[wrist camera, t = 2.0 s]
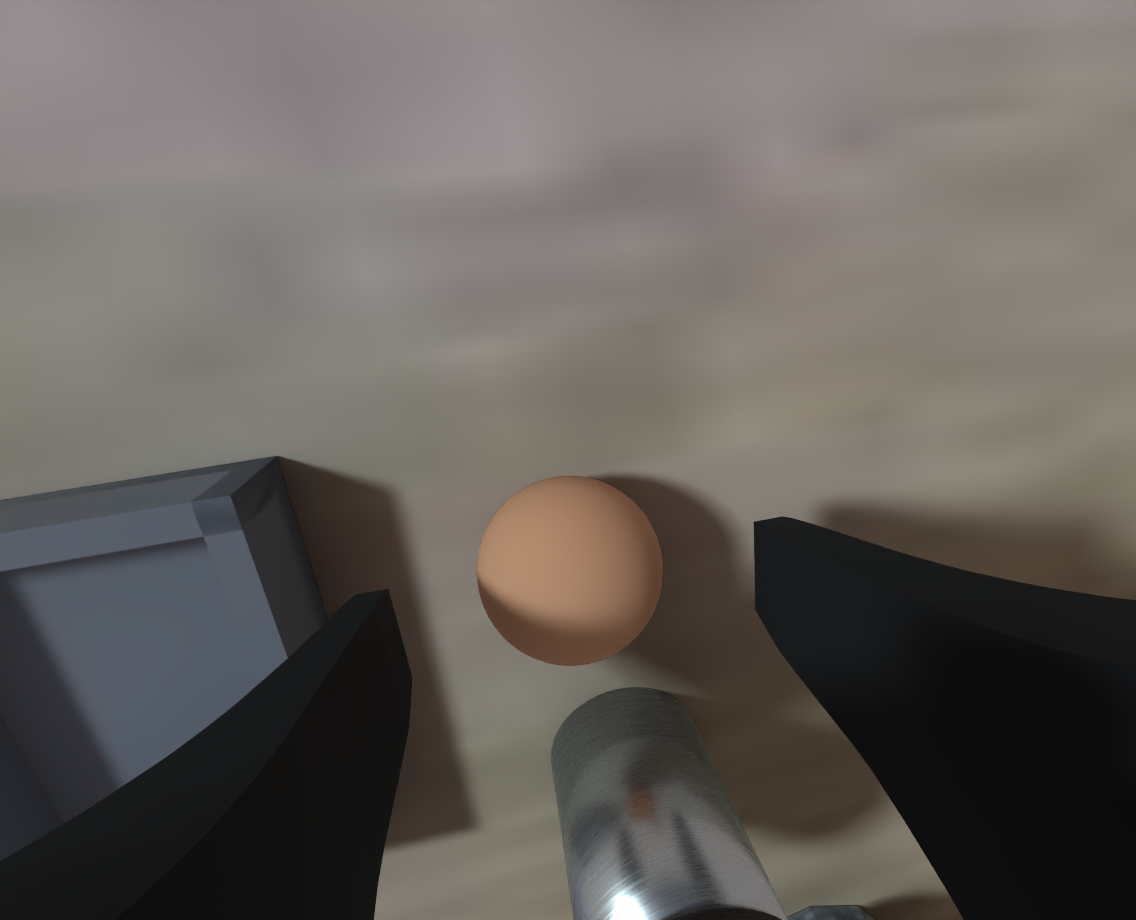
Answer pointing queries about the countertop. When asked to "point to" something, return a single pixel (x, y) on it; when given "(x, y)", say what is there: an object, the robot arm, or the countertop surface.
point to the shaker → (651, 817)
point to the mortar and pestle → (831, 913)
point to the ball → (569, 570)
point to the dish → (137, 627)
